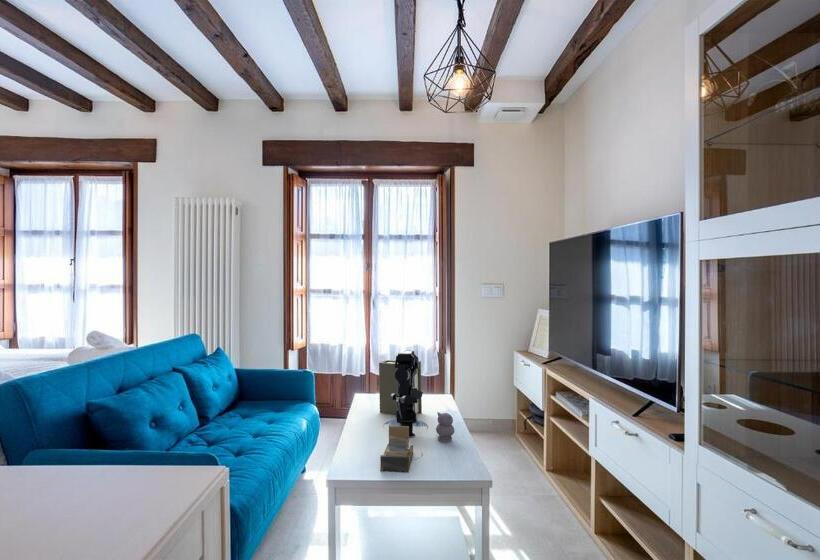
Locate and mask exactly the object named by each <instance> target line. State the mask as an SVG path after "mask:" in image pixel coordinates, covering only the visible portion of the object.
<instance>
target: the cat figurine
mask: <svg viewBox="0 0 820 560" xmlns="http://www.w3.org/2000/svg"><path fill="white" fill-rule="evenodd" d="M436 413H437V423H438V424H437V426H436V427H435V432H436V434H437V435H438V436H437V441H438V442H439V443H444V444H446V443H447V444H448V443H451V442H452V441H453V437H452V436H453V435H454V433H455V428H454V425H453V423H454V419H453V416H452V415H451V414H450V413H447V412H442V413H440V412H438V411H437V412H436Z"/></svg>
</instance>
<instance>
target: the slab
mask: <svg viewBox="0 0 820 560" xmlns="http://www.w3.org/2000/svg"><path fill="white" fill-rule="evenodd" d="M388 444H389V447H388V450H387V456H404V457H407V456H408V452H409V449H410V437H409V426H400V425H389V426H388Z"/></svg>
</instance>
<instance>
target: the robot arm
mask: <svg viewBox="0 0 820 560" xmlns="http://www.w3.org/2000/svg"><path fill="white" fill-rule="evenodd" d="M419 361H420V360H419V357H418V356H417V355H416V354H415V350H411V349H408V350H407V349H405V350H404V351H403V352H398V353H397V354H396V355H395V368H398V370H397V371H396V372H395V378H396V380H397V381H399V382H398V384H396V386H397V393H392V395H391V397H390V400H396V402H395V404H396V406H397V408H398V409H397V411H396V414H395V415H396V416H395V417H396V424H398V423H399V426H409V438H411V437H415V436H416V433H414V431H413V430H414V428H413V427H414V426H413V424H414V425H415V424H416V423H417V422H418V421H417V420H418V419H417V416H418V415H417V413H415V410H414V406H413V403H418V399H421V400H422V397H423V393H424V392H423V391H422V390H421V391H419V390H417V388H414V387H413V377H414V376H415V375H416V374H417V369H418V368H419ZM397 363H398V364H397Z"/></svg>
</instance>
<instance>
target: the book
mask: <svg viewBox="0 0 820 560" xmlns="http://www.w3.org/2000/svg"><path fill="white" fill-rule="evenodd" d="M395 361H396V359H395V360H391V359H386V360H385V359H384V360H382V361H379V362H378V372H379V373H378V376H379V377H378V378H379V380H378V383H379V387H378V388H379V389H378V390H379V413H383V414H390V415H396V411H397V409H398V408H397V406H396V404H395V402H396V400H390V397H391V395H392V393H397V386H396V384H398V382H399V381H397V380H396V378H395V372H396V371H397V370H398V368H395ZM397 364H398V363H397ZM413 387H414V388H417V390H419V391H421V392H422V363H421V360H419V368H418V369H417V374H416V375H415V376H414V377H413ZM422 401H423V400H422V398H421V399H418V403H413V406H414V410H415V413H416V414H422V413H423V411H422V410H423V409H422V407H423V406H422Z"/></svg>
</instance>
